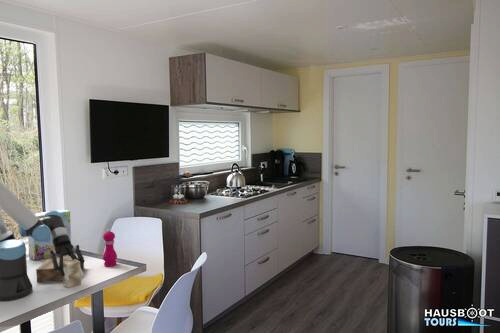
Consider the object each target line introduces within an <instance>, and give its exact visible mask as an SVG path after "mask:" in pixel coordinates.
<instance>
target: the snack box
mask: <svg viewBox="0 0 500 333" xmlns="http://www.w3.org/2000/svg"><path fill="white" fill-rule="evenodd" d="M56 211H58V212H59V213H60V215H61V217H62V220H63V223H64V226H65V228H66V231H67V233H68V236H69V239H70V241H71V242H72V231H71V226H72V225H71V211H70V210H67V209H58V210H56ZM47 212H48V211H43V212H37V213H34V214H35V215H36V216H37V217H38V218H43V217H44V215H45V214H46V213H47ZM27 238H28V258H29V259H31V260H33V261H39V260H43V259H48V258H51V256H50V255H49V253H50V251H51V250H52V251H53V250H55V248H54V245H53V241H52V239H51V236H50V237H49V238H48V239H47V240H46V241H42V242H40V241H36V240H34V239H33V238H32V237H31V236H28V237H27ZM55 255H56V256H59V254H57V253H56V252H55Z"/></svg>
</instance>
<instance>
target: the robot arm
mask: <svg viewBox="0 0 500 333" xmlns="http://www.w3.org/2000/svg"><path fill="white" fill-rule="evenodd" d="M21 200H22V199H20V198H19V197H18V196H17V195H15V193H14V192H12V190H10V189H9V188H8V187H7V186H6V185H5V184H4V183H3V182H2V181H1V180H0V209H1V210H2V211H4V212H5V213H6V214H7V215H8V216H9V217H10V218H11V219H12V220H13V221H15V223H17V224H18V232H19V233H18V234H19V235H20V237H21V238H26V237H27V238H28V236H31V237H32V238H33V239H34V240H36V241H40V242H42V241H46V240H47V239H48V238H49V237H50V236H51V239H52V241H53V245H54V248H55V250H53V251H52V250H51V251H50V253H49V255H50V256H51V257H50V259H52V262H53V266H54V270H55V271H57V270H59V272H60V273H61V276H64V278H65V281H66V283H68V281H69V278H68V275H67V272H66V270H65V268H63V258H64V257H65V256H68V258H72V259H76V260H78V261H80V269H81V280H82V279H83V278H84V277H85V275H84V273H83V271H84V269H83V267H82V264H83V263H84V264H85V258H83V257H84V256H83V254H82V251H81V249H80V245H79V244H76V245H74V244H72V240H71V241H70V239H69V236H68V233H67V231H66V228H65V226H64V223H63V220H62V217H61V215H60V213H59V212H58V211H57V210H50V211H46V212H47V213H46V214H45V215H44V217H43V218H38V217H37V216H36V215H35V214H36V213H34V212H33V211H32V210H31V209H30V208H29V207H28V206H27V205H26V204H25V203H24V202H22V201H21ZM73 250H74V251H75V253H74V251H73ZM55 252H56V253H57V254H59V255H58V256H59V257H58V258H57V257H56V256H57V255H55ZM77 257H78V258H79V259H78V258H77ZM57 259H59V266H58V263H57ZM27 265H28V264H27V246H26V243H25V242H24V241H23V240H20V239H16V237H15V234H14V232H13V231H12V230H9V229H8V228H7V225H6V222H5V220H4V218H3V215H2V213H1V212H0V302H7V301H8V302H9V301H14V300H18V299H22V298H25V297H26V296H28V295H29V296H30V294H31V293H32V292H33V291H34V290H33V284H32V281H31V280H30V277H29V276H28V266H27Z"/></svg>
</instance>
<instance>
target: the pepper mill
mask: <svg viewBox="0 0 500 333" xmlns="http://www.w3.org/2000/svg"><path fill="white" fill-rule="evenodd" d="M115 237H116V234H115V232H113V231H111V229H110V228H108V229H106V232H104V233H103V240H104V244H105V250H104V252H103V256H102V260H103V261H104V262H103V266H104V267H106V268H111V267H115V266H117V259H118V255H117V253H116V250H115V247H114V244H115V239H116V238H115Z"/></svg>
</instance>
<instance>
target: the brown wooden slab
mask: <svg viewBox="0 0 500 333" xmlns="http://www.w3.org/2000/svg"><path fill="white" fill-rule="evenodd" d="M76 257H77V258H78V256H76ZM83 258H84V256H83ZM56 259H57V263H58V266H59V258H56ZM78 259H79V258H78ZM84 259H85V258H84ZM68 260H72V258H71V257H63V262H64V261H68ZM82 267H83V270H84V269H85V262H84V263H83V264H82ZM35 276H36V282H37V283H40V282H51V281H52V282H53V281H63V276H61V273H60V272H59V270H57V271H55V270H54V266H53V262H52V258H49V259H48V258H46V260H45V261H44V262H43V263H42V264H41V265H39V266H38V268H36V269H35Z"/></svg>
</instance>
